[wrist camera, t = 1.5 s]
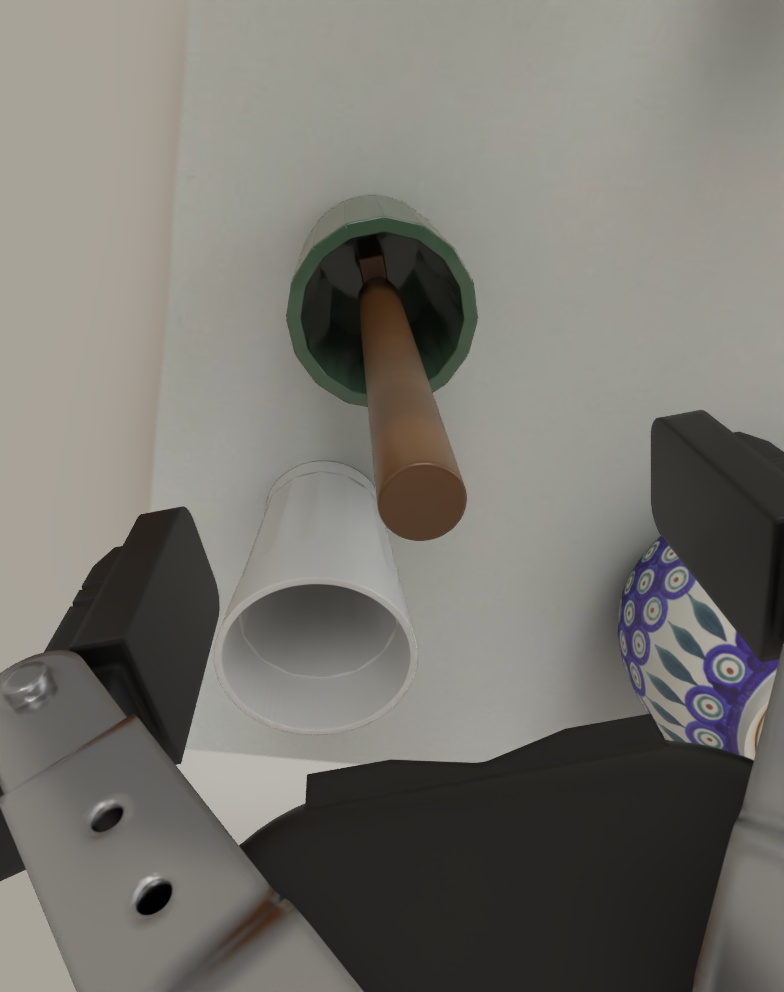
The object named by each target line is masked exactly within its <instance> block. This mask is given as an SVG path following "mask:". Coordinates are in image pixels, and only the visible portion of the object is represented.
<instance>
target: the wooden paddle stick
mask: <svg viewBox="0 0 784 992" xmlns="http://www.w3.org/2000/svg"><path fill="white" fill-rule="evenodd" d="M356 246H357V254H358V262H359V267H360V272H361V278H362V283H363V286H362V287H361V289H360V291H359V294H358V304H359V315H360V325H361V336H362V347H363V358H364V368H365V379H366V390H367V401H368V411H369V422H370V433H371V444H372V455H373V465H374V476H375V487H376V498H377V507H378V512H379V515H380V517H381V520H382V521H383V523H384V524H385V525H386V526H387V528H388V529H390V530H391V531H392V532H393V533H395V534H396V535H398V536H400V537H403V538H405V539H409V540H415V541H425V540H431V539H435V538H438V537H440V536H442V535H444V534H446V533H447V532H449V531H450V530H451V529H453V528H454V527H455V526H456V524H457V523H458V522H459V521H460V519H461V517H462V515H463V514H464V511H465V508H466V503H467V494H466V489H465V486H464V483H463V480H462V477H461V474H460V471H459V468H458V466H457V463H456V460H455V457H454V454H453V451H452V448H451V445H450V442H449V439H448V436H447V433H446V431H445V428H444V425H443V422H442V419H441V416H440V413H439V410H438V407H437V404H436V401H435V399H434V396H433V393H432V390H431V387H430V384H429V381H428V378H427V375H426V372H425V369H424V366H423V364H422V361H421V358H420V355H419V352H418V349H417V346H416V343H415V340H414V337H413V334H412V331H411V329H410V326H409V323H408V320H407V317H406V314H405V311H404V308H403V305H402V302H401V299H400V297H399V294H398V291H397V289H396V287H395V285H394V284H393V283H392V282H390V281H389V280H388V276H387V271H386V265H385V259H384V255H383V252H382V249H381V246H380V243H379V240H378V238H377V237H373V238H368V239H363V240H358V241H356Z"/></svg>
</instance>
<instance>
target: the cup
mask: <svg viewBox="0 0 784 992" xmlns="http://www.w3.org/2000/svg"><path fill="white" fill-rule="evenodd" d="M417 661H418V650H417V643H416V639H415V635H414V632H413V628H412V625H411V621H410V618H409V614H408V611H407V607H406V603H405V600H404V596H403V593H402V589H401V585H400V581H399V577H398V573H397V570H396V566H395V562H394V558H393V554H392V550H391V546H390V542H389V539H388V535H387V531H386V527H385V524H384V523H383V521H382V520H381V517H380V515H379V512H378V507H377V498H376V489H375V487H374V486H373V484H372V483H371V482H370V481H369V480H368V479H367V478H366V477H365V476H364V475H363V474H362V473H360V472H359V471H357V470H356V469H354V468H352V467H350V466H347V465H344V464H341V463H337V462H331V461H316V462H310V463H306V464H302V465H300V466H297V467H295V468H293V469H291V470H290V471H288V472H287V473H285V474H284V475H283V476H282V477H281V478H280V479H279V480H278V481H277V482H276V483H275V485H274V486H273V488H272V489H271V491H270V493H269V496H268V499H267V503H266V508H265V513H264V517H263V520H262V523H261V526H260V528H259V531H258V534H257V537H256V539H255V542H254V545H253V548H252V550H251V553H250V556H249V558H248V561H247V564H246V567H245V569H244V572H243V575H242V577H241V579H240V581H239V583H238V585H237V587H236V590H235V592H234V595H233V597H232V600H231V602H230V605H229V607H228V610H227V612H226V615H225V617H224V620H223V622H222V625H221V627H220V630H219V632H218V635H217V638H216V642H215V648H214V664H215V670H216V674H217V677H218V679H219V682H220V684H221V686H222V688H223V689H224V691H225V693H226V694H227V695H228V697H229V698H230V699H231V700H232V701H233V703H234V704H235V705H236V706H237V707H238V708H240V709H241V710H242V711H243V712H245V713H246V714H247V715H249V716H250V717H252V718H253V719H255V720H257V721H259V722H261V723H263V724H265V725H267V726H270V727H272V728H275V729H278V730H282V731H286V732H291V733H296V734H305V735H326V734H335V733H341V732H345V731H349V730H353V729H356V728H359V727H361V726H364V725H366V724H368V723H370V722H372V721H374V720H376V719H378V718H379V717H381V716H382V715H384V714H385V713H387V712H388V711H389V710H390V709H392V708H393V707H394V706H395V705H396V704H397V703H398V702H399V701H400V700H401V698H402V697H403V696H404V695H405V693H406V692H407V690H408V688H409V687H410V685H411V683H412V681H413V678H414V675H415V672H416V668H417Z"/></svg>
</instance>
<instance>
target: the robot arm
mask: <svg viewBox="0 0 784 992" xmlns="http://www.w3.org/2000/svg"><path fill="white" fill-rule="evenodd" d="M651 506H652V513H653V517H654V520H655V524H656V526H657V529H658V531H659V533H660V534H661V536H662V537H663V539H664V540H665V541H666V542H667V544H668V545H669V546H670V547H671V549H672V550H673V551H674V553H675V554H676V555H677V556H678V558H679V559H680V560H681V561H682V563H683V564H684V565H685V567H686V568H687V569H688V570H689V572H690V573H691V574H692V575H693V577H694V578H695V579H696V580H697V582H698V583H699V584H700V586H701V587H702V588H703V589H704V591H705V592H706V593H707V594H708V596H709V597H710V598H711V600H712V601H713V602H714V603H715V605H716V606H717V607H718V608H719V610H720V611H721V612H722V613H723V615H724V616H725V617H726V619H727V620H728V621H729V622H730V624H731V625H732V626H733V627H734V629H735V630H736V631H737V633H738V634H739V635H740V636H741V638H742V639H743V640H744V641H745V643H746V644H747V645H748V646H749V648H750V649H751V650H752V652H753V653H754V654H755V655H756V657H757V658H758V659H759V660H760V662H766V661H772V660H777V659H779V663H778V667H777V671H776V675H775V679H774V683H773V687H772V691H771V695H770V699H769V703H768V707H767V711H766V715H765V719H764V722H763V726H762V730H761V734H760V738H759V742H758V746H757V750H756V754H755V758H754V760H752V759H750V758H747V757H745V756H742V755H739V754H736V753H733V752H730V751H726V750H723V749H720V748H715V747H711V746H706V745H702V744H696V743H689V742H682V741H668V740H665V739H664V737H663V735H662V733H661V731H660V729H659V727H658V725H657V724H656V722H655V720H654V718H653V716H652V714H646V715H641V716H635V717H629V718H624V719H618V720H612V721H607V722H601V723H595V724H590V725H584V726H578V727H573V728H567V729H564V730H562V731H559V732H557V733H554V734H552V735H549V736H547V737H545V738H542V739H540V740H537V741H535V742H533V743H530V744H528V745H525V746H523V747H521V748H518V749H516V750H513V751H511V752H508V753H506V754H504V755H501V756H499V757H496V758H494V759H492V760H489V761H486V762H480V763H461V762H436V761H411V760H386V761H381V762H375V763H369V764H364V765H358V766H352V767H347V768H341V769H335V770H330V771H324V772H318V773H313V774H308V775H307V788H306V803H305V804H303V805H301V806H298V807H296V808H294V809H292V810H290V811H288V812H286V813H285V814H283V815H281V816H279V817H277V818H276V819H274V820H272V821H271V822H269V823H268V824H266V825H265V826H264V827H262V828H261V829H259V830H258V831H256V832H255V833H254V834H253V835H251V836H250V837H249V838H248V839H247V840H245V841H244V842H243V843H242V844H240V845H238V844H237V843H236V842H235V840H234V839H233V838H232V836H231V835H230V834H229V833H228V831H227V830H226V829H225V828H224V826H223V825H222V824H221V822H220V821H219V820H218V819H217V817H216V816H215V815H214V814H213V813H212V811H211V810H210V809H209V807H208V806H207V805H206V803H205V802H204V801H203V800H202V798H201V797H200V796H199V794H198V793H197V792H196V791H195V790H194V788H193V787H192V786H191V784H190V783H189V782H188V780H187V779H186V778H185V777H184V775H183V774H182V773H181V771H180V770H179V769H178V768H177V766H176V764H181V762H182V757H183V754H184V750H185V746H186V742H187V738H188V734H189V730H190V727H191V723H192V719H193V715H194V711H195V707H196V703H197V699H198V695H199V691H200V687H201V684H202V680H203V676H204V672H205V668H206V664H207V660H208V656H209V652H210V648H211V644H212V641H213V637H214V633H215V629H216V625H217V621H218V617H219V594H218V589H217V584H216V581H215V578H214V575H213V572H212V570H211V567H210V564H209V561H208V559H207V556H206V553H205V550H204V548H203V545H202V542H201V539H200V536H199V534H198V531H197V528H196V525H195V523H194V520H193V518H192V515H191V513H190V512H189V510H188V509H187V508H186V507H177V508H172V509H167V510H162V511H156V512H151V513H146V514H141V515H140V516H139V517H138V518H137V520H136V522H135V524H134V526H133V528H132V529H131V531H130V533H129V535H128V537H127V539H126V541H125V543H124V544H123V546H121V547H115V548H113V549H112V550H111V551H110V552H109V553H108V554H107V555H106V556H104V558H102V559H101V560H100V561H99V562H98V563H97V564H95V565H94V566H93V568H92V570H91V571H90V573H89V575H88V576H87V578H86V580H85V581H84V583H83V585H82V590H79V592H78V594H77V595H76V597H75V599H74V601H73V606H71V607H70V608H69V610H68V611H67V613H66V615H65V616H64V618H63V620H62V621H61V623H60V625H59V627H58V629H57V630H56V632H55V634H54V635H53V638H52V639H51V641H50V642H49V644H48V646H47V648H46V650H45V651H44V653H41V654H38V655H34V656H31V657H29V658H27V659H24V660H22V661H20V662H18V663H16V664H14V665H12V666H11V667H9V668H7V669H6V670H4V671H3V672H1V673H0V881H2V880H4V879H6V878H8V877H11V876H13V875H15V874H17V873H19V872H22V871H24V870H27V873H28V875H29V878H30V880H31V882H32V885H33V887H34V890H35V892H36V895H37V897H38V899H39V902H40V904H41V907H42V909H43V912H44V914H45V916H46V919H47V921H48V924H49V926H50V928H51V931H52V933H53V936H54V938H55V941H56V943H57V945H58V948H59V950H60V952H61V955H62V958H63V960H64V962H65V965H66V967H67V970H68V972H69V974H70V977H71V979H72V982H73V984H74V987H75V989H76V991H77V992H784V452H783V451H781V450H780V449H779V448H777V447H776V446H774V445H773V444H772V443H770V442H769V441H766V440H763V439H760V438H757V437H754V436H751V435H748V434H745V433H742V432H735V433H733V432H731V431H730V430H729V429H728V428H726V427H725V426H724V425H722V424H721V423H720V422H718V421H717V420H716V419H715V418H713V417H712V416H711V415H709V414H708V413H707V412H705V411H704V410H698V411H693V412H687V413H682V414H677V415H671V416H666V417H661V418H656V419H655V420H654V422H653V424H652V429H651Z"/></svg>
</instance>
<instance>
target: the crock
mask: <svg viewBox="0 0 784 992" xmlns="http://www.w3.org/2000/svg"><path fill="white" fill-rule="evenodd" d="M373 237H377V238H378V240H379V243H380V246H381V249H382V252H383V255H384V259H385V265H386V271H387V276H388V280H389V281H390V282H392V283H393V284H394V285H395V287H396V289H397V291H398V294H399V297H400V299H401V302H402V305H403V308H404V311H405V314H406V317H407V320H408V323H409V326H410V329H411V331H412V334H413V337H414V340H415V343H416V346H417V349H418V352H419V355H420V358H421V361H422V364H423V366H424V369H425V372H426V375H427V378H428V381H429V384H430V387H431V390H432V393H433V392H434V391H436V390H438V389H439V388H441V387H442V386H444V385H445V384H446V383H448V381H449V380H450V379H451V377H452V376H453V375H454V373H455V372H456V371H457V369H458V368H459V367H460V365H461V364H462V363H463V361H464V360H465V359H466V357H467V354H468V353H469V350H470V347H471V343H472V339H473V336H474V332H475V328H476V325H477V319H478V315H477V306H476V298H475V290H474V283H473V280H472V278H471V276H470V275H469V273H468V271H467V269H466V268H465V266H464V264H463V262H462V260H461V259H460V257H459V255H458V253H457V252H456V250H455V249H454V248H453V246H452V245H451V244H450V243H449V242H448V241H447V240H446V239H445V238H444V237H443V236H442V235H441V234H440V233H439V232H438V231H437V230H436V228H435V227H434V226H433V225H432V224H431V223H430V222H429V221H428V220H427V219H426V218H425V217H423V216H422V215H421V214H419V213H418V212H417V211H416V210H414V209H413V208H411V207H410V206H409V205H407V204H406V203H404V202H402V201H398V200H396V199H393V198H389V197H384V196H377V195H368V196H360V197H356V198H352V199H349V200H346V201H344V202H342V203H340V204H338V205H337V206H335V207H333V208H332V209H331V210H329V211H328V212H327V213H326V214H324V216H322V217H321V218H320V219H319V220H318V222H317V223H316V225H315V226H314V228H313V229H312V231H311V233H310V235H309V237H308V238H307V240H306V241H305V243H304V246H303V249H302V252H301V255H300V258H299V261H298V264H297V267H296V270H295V273H294V276H293V279H292V282H291V288H290V295H289V301H288V308H287V315H286V318H287V319H286V320H287V324H288V328H289V332H290V336H291V340H292V344H293V348H294V352H295V354H296V357H297V358H298V359H299V361H300V362H301V363H302V365H303V366H304V368H305V369H306V370H307V372H308V373H309V374H310V376H311V377H312V379H313V380H314V381H315V383H317V384H318V385H319V386H321V387H322V388H324V389H325V390H327V391H329V392H330V393H332V394H333V395H335V396H337V397H338V398H340V399H341V400H343V401H345V402H347V403H349V404H355V405H360V406H365V407H368V401H367V390H366V379H365V368H364V358H363V347H362V336H361V325H360V315H359V304H358V294H359V291H360V289H361V287H362V286H363V283H362V278H361V272H360V267H359V262H358V254H357V246H356V241H358V240H363V239H368V238H373Z"/></svg>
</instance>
